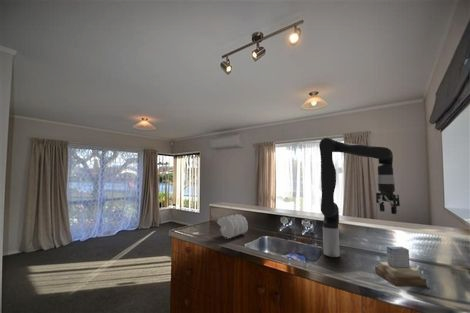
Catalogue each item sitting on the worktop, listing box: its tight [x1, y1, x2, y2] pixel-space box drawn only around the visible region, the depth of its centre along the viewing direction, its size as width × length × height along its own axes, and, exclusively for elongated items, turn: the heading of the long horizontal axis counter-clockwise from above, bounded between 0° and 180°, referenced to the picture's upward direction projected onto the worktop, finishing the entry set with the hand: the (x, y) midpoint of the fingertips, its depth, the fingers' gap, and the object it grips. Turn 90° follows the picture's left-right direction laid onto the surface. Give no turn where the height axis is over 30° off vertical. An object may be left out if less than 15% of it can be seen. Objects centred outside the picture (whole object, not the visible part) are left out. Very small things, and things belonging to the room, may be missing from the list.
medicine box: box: [386, 246, 411, 268], centre depth 103 cm, size 8×4×9 cm, turn 91°
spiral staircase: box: [216, 213, 249, 239], centre depth 175 cm, size 18×18×25 cm
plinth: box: [374, 261, 428, 287], centre depth 103 cm, size 14×14×6 cm
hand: (387, 212), depth 115 cm, fingers open, 8 cm apart
